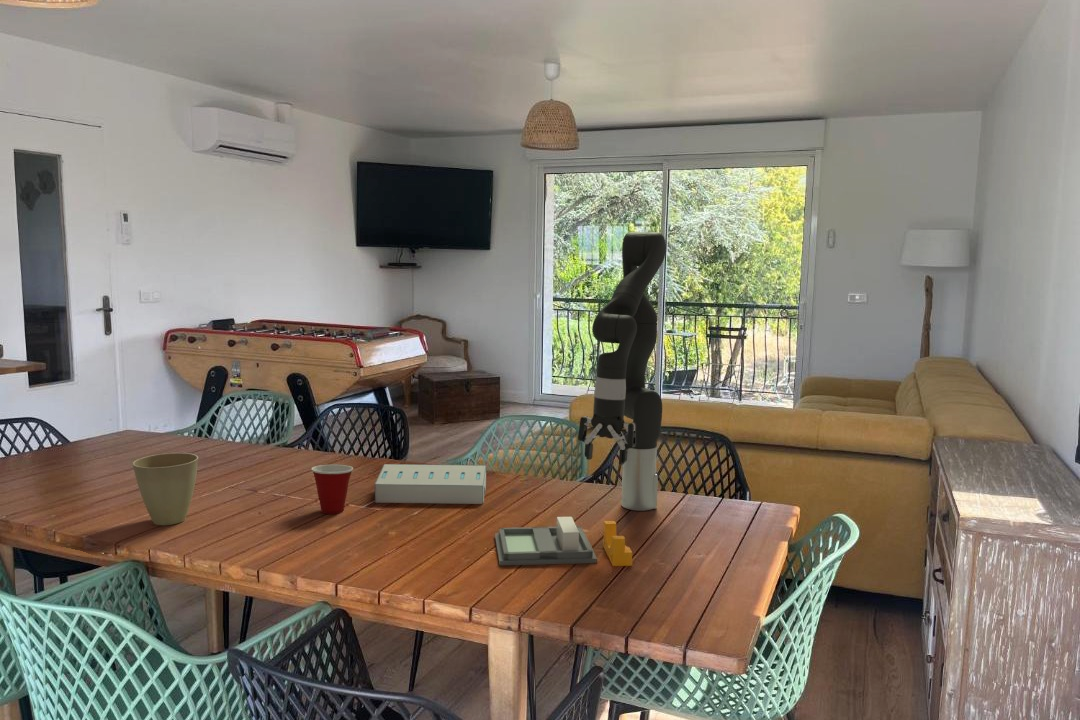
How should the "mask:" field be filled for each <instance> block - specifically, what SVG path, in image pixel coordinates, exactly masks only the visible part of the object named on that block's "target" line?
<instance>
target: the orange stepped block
mask: <svg viewBox="0 0 1080 720" xmlns="http://www.w3.org/2000/svg"><path fill="white" fill-rule="evenodd" d="M602 538H603V541H602V542H603V543H602V544H603V545H602V546H603V549H604V551H605V553H606V556H607V557H608V559H609V561H610V563H611V565H612V567H628V566H629V567H632V566H633V551H632V549H631V548H630V546H627V545H626V537H625V536H624V535H617V522H616V521H615V520H603V537H602Z"/></svg>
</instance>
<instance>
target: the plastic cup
mask: <svg viewBox="0 0 1080 720" xmlns="http://www.w3.org/2000/svg"><path fill="white" fill-rule="evenodd" d="M311 471H312V472H313V477H314V480H315V486H316V490H317V496H318V501H319V506H320V511H321V513H323V514H327V515H334V514H335V515H336V514H340V513H342V512H344V509H345V506H346V499H347V496H348V495H347V494H348V489H349V483H350V478H351V475H352V472H353V471H354V467H353V466H351V465H344V464H322V465H321V464H320V465H316V466H312V467H311Z"/></svg>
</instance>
